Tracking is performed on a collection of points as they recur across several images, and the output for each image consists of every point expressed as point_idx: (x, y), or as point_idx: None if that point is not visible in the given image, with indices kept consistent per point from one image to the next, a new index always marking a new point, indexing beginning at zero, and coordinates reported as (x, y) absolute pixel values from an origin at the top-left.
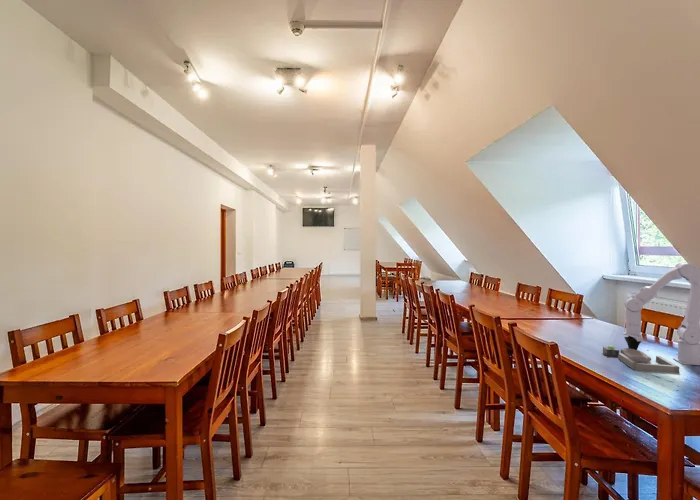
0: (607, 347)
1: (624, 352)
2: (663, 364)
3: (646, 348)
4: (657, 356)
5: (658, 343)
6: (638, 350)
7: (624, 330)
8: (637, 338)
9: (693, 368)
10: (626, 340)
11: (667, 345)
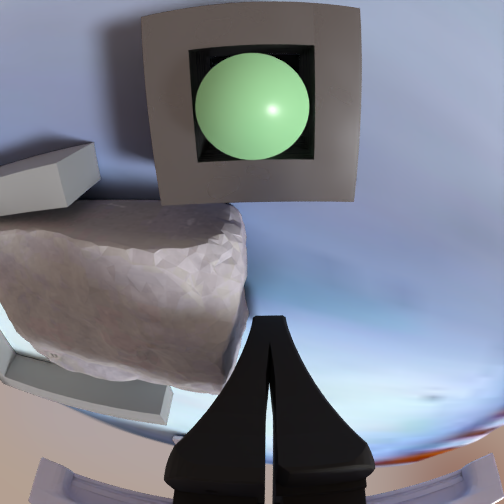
0: (315, 63)
1: (58, 236)
2: (80, 376)
3: (460, 396)
4: (144, 413)
5: (495, 416)
6: (220, 387)
7: (496, 497)
8: (32, 486)
9: (129, 431)
10: (311, 429)
11: (469, 431)
